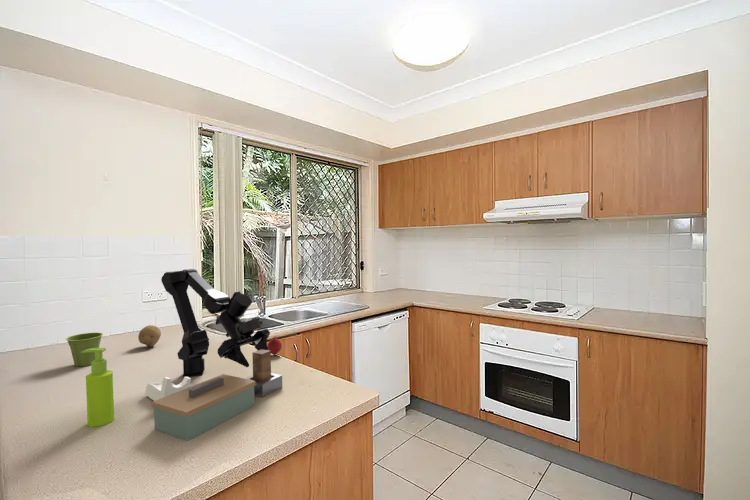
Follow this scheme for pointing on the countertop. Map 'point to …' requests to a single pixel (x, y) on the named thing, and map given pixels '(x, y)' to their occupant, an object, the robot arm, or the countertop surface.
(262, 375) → the walnut key
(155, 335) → the potato
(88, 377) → the soap dispenser
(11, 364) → the countertop surface
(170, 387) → the bracket
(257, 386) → the grey shallow box
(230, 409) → the toolbox
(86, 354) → the plant pot
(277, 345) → the onion
